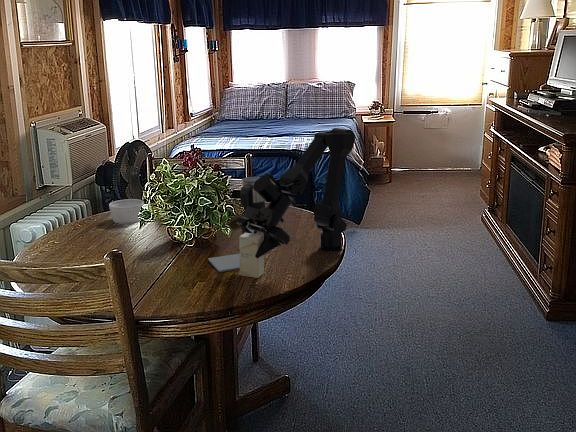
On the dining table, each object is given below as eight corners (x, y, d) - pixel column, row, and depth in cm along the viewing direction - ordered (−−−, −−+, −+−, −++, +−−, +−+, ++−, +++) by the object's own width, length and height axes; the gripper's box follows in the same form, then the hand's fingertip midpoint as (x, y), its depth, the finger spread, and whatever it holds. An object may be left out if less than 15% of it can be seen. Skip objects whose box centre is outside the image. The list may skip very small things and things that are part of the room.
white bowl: (111, 217, 248) (109, 200, 246) (145, 214, 251) (143, 197, 249) (110, 226, 236) (108, 208, 234) (145, 223, 239) (144, 205, 237)
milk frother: (245, 212, 251) (243, 176, 247) (284, 212, 249) (283, 176, 245) (238, 222, 237) (237, 184, 233) (279, 222, 236) (279, 184, 232)
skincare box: (239, 275, 184) (237, 236, 181) (246, 270, 188) (244, 232, 184) (258, 278, 182) (257, 238, 178) (265, 273, 186) (263, 234, 182)
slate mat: (249, 253, 202) (249, 251, 202) (262, 265, 192) (262, 263, 192) (208, 260, 197) (208, 258, 197) (218, 272, 187) (218, 270, 187)
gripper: (240, 190, 187) (212, 233, 183) (281, 201, 174) (252, 247, 170) (260, 210, 195) (234, 252, 191) (302, 222, 181) (274, 267, 177)
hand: (247, 254), depth 182 cm, fingers closed on skincare box, 7 cm apart
